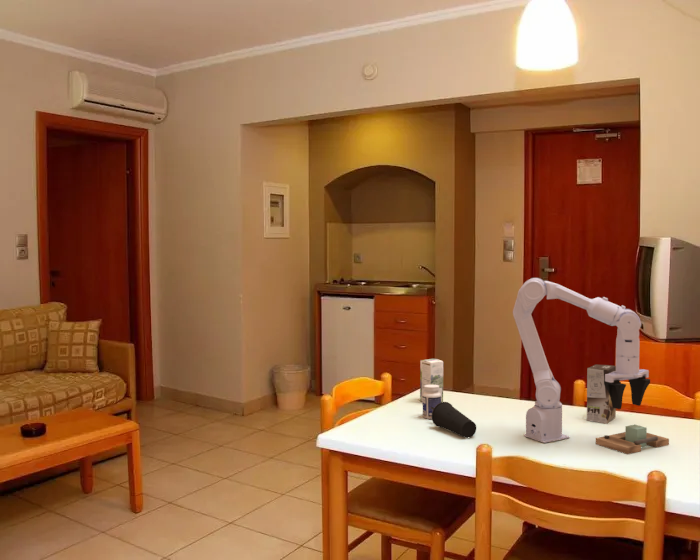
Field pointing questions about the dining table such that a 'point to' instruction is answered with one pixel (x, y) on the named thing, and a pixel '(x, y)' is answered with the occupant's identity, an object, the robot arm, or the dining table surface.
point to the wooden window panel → (628, 447)
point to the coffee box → (599, 394)
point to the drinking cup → (452, 420)
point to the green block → (635, 433)
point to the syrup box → (431, 375)
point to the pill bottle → (430, 399)
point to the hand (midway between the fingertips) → (626, 406)
